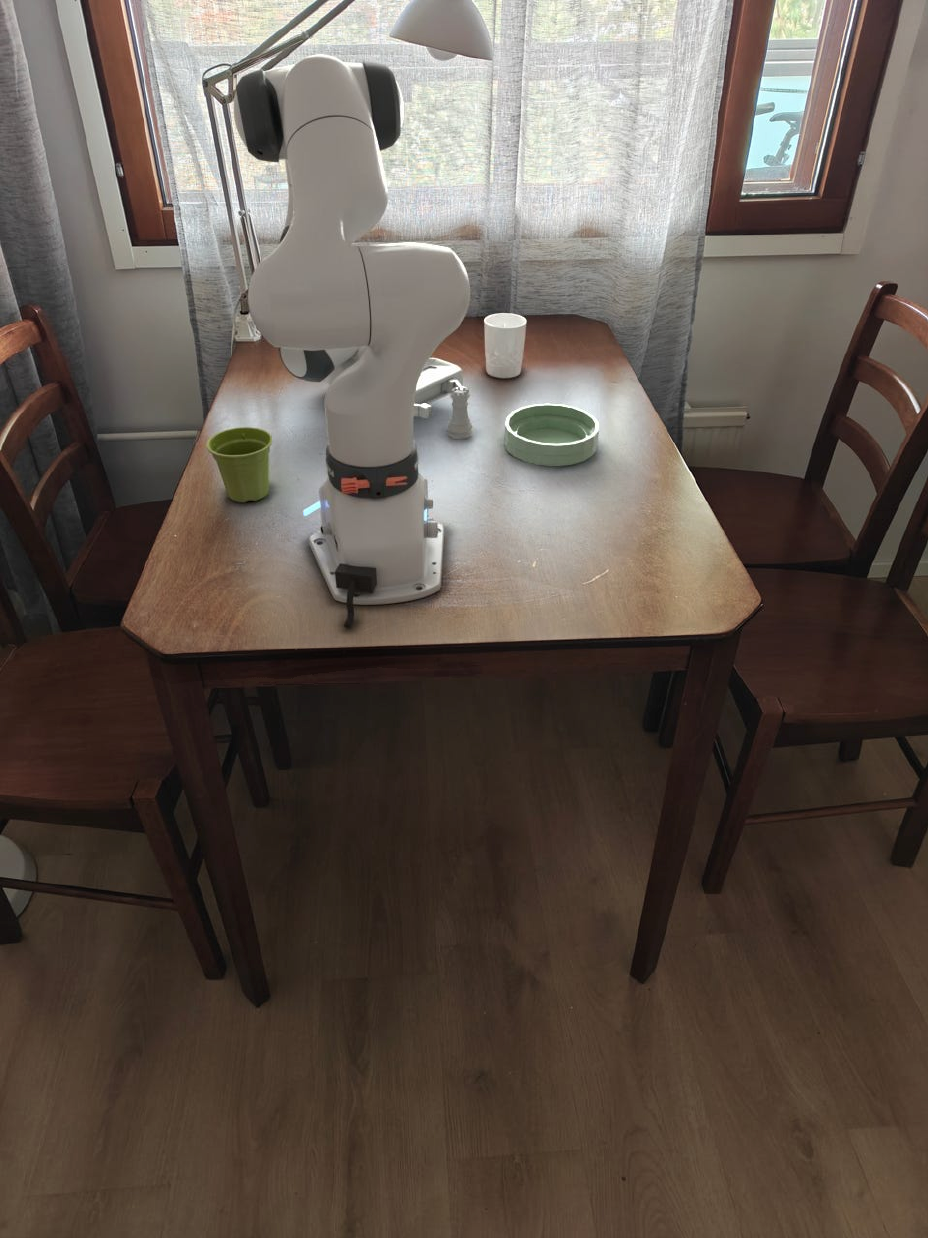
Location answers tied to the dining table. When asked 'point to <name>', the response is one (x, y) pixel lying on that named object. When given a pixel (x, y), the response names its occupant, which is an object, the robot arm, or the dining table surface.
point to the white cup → (504, 344)
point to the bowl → (551, 434)
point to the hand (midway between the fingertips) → (448, 403)
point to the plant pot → (243, 461)
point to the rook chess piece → (459, 415)
